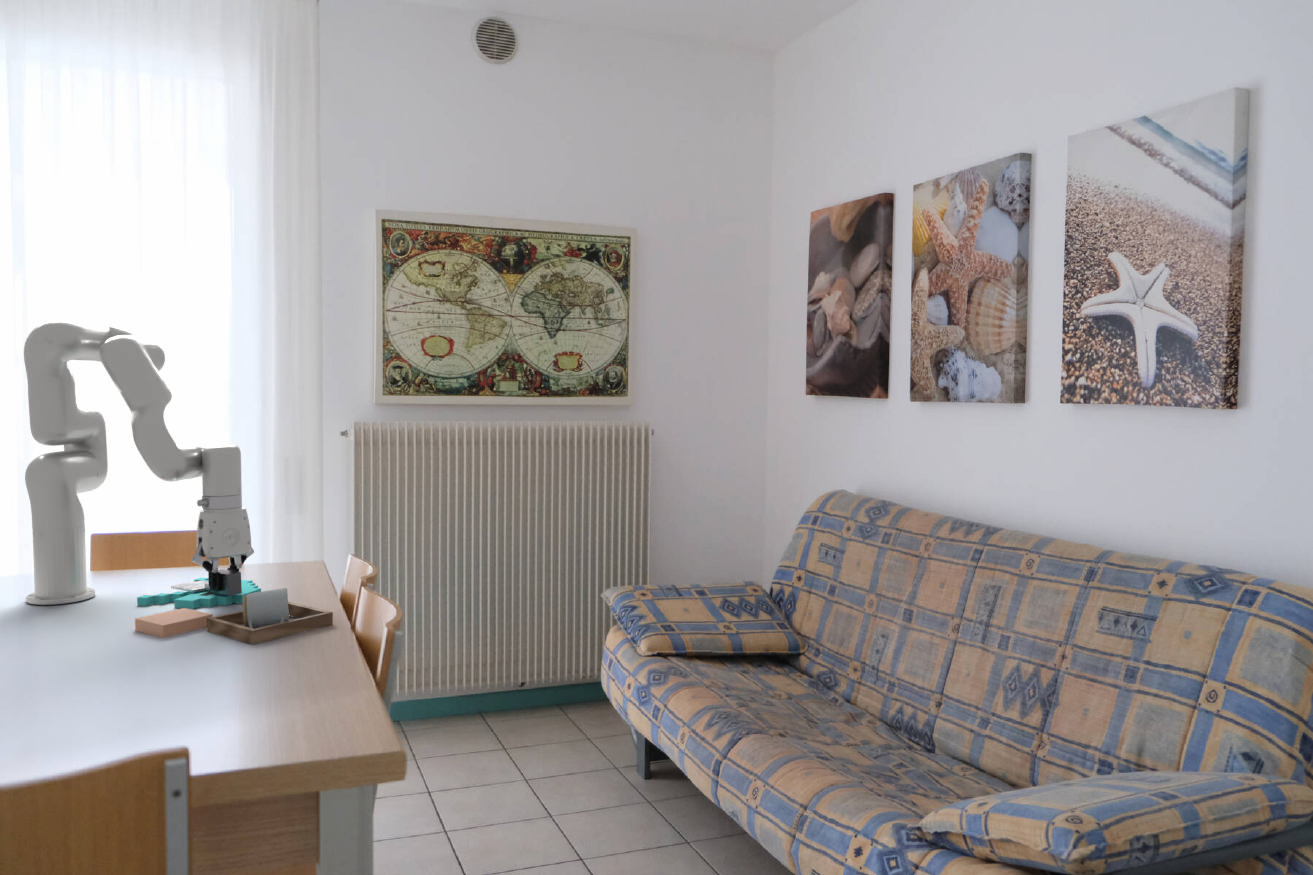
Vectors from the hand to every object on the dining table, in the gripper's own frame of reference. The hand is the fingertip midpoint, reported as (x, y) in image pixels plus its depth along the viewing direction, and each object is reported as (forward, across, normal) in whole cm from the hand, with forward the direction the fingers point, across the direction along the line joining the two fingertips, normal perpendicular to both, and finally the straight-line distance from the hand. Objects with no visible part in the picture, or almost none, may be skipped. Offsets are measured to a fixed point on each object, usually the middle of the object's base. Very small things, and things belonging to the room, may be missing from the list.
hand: (224, 587), depth 203 cm
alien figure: (+4, +1, +7) cm, 8 cm away
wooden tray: (+3, -6, -26) cm, 27 cm away
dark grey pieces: (+1, 0, +5) cm, 6 cm away
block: (+2, -17, -7) cm, 19 cm away
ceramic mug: (+4, -7, -28) cm, 29 cm away
